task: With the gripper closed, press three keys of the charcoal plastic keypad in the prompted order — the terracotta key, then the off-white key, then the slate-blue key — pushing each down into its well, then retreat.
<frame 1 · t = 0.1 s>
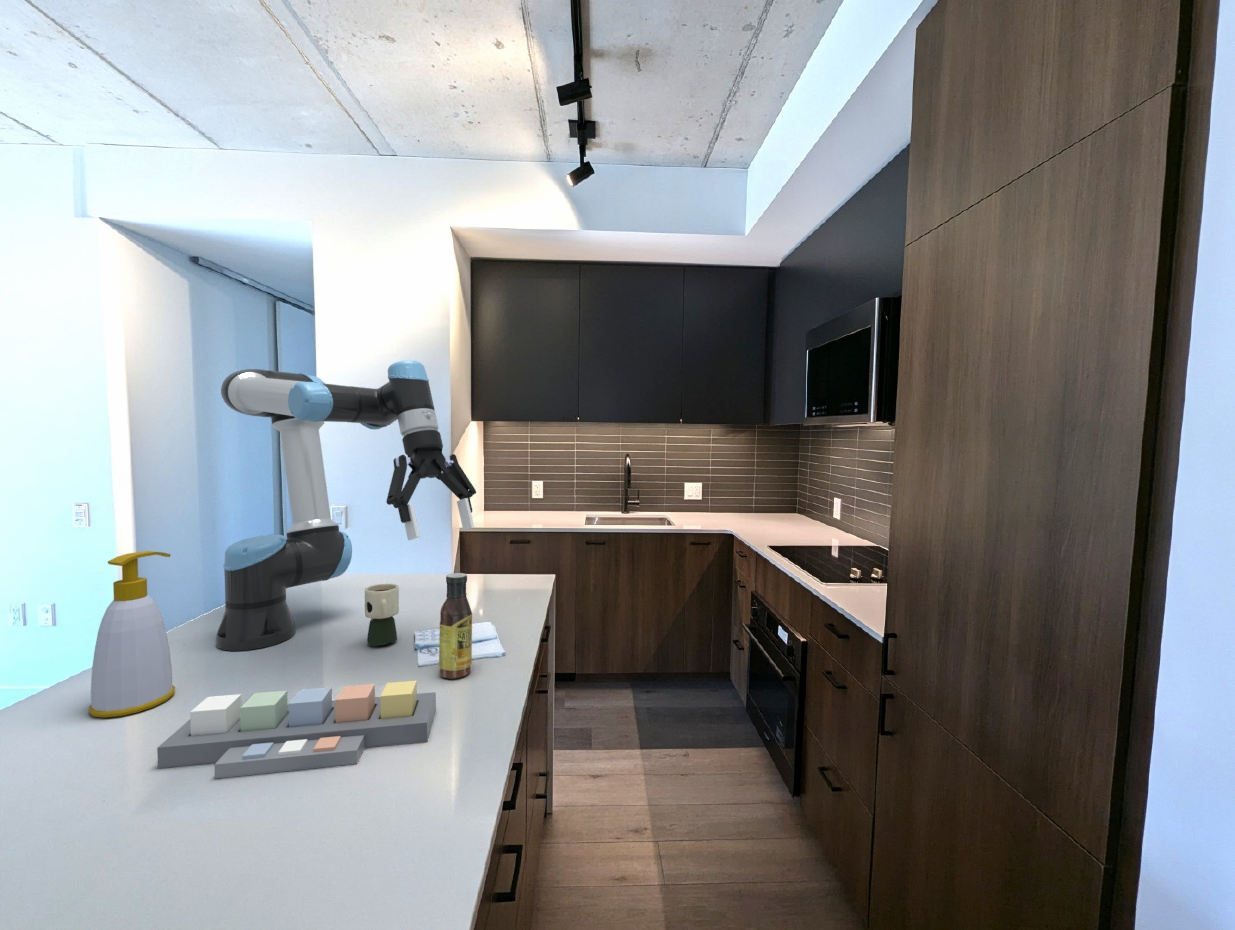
hand: (443, 533, 105), 28 cm above the countertop, tool tilted 20°, fingers open, 13 cm apart
character mug: (382, 644, 120), on the countertop
soap bottle: (134, 703, 92), on the countertop
key white: (216, 715, 79), point 4 cm above the countertop, slide at 0.0 cm
key sage: (264, 711, 80), point 5 cm above the countertop, slide at 0.0 cm
key mustard: (399, 700, 84), point 4 cm above the countertop, slide at 0.0 cm
keypad: (311, 735, 82), on the countertop
key terracotta: (355, 703, 83), point 4 cm above the countertop, slide at 0.0 cm
folded patterned cloth: (457, 648, 119), on the countertop
key slate: (311, 707, 82), point 4 cm above the countertop, slide at 0.0 cm
sauce bottle: (455, 674, 105), on the countertop
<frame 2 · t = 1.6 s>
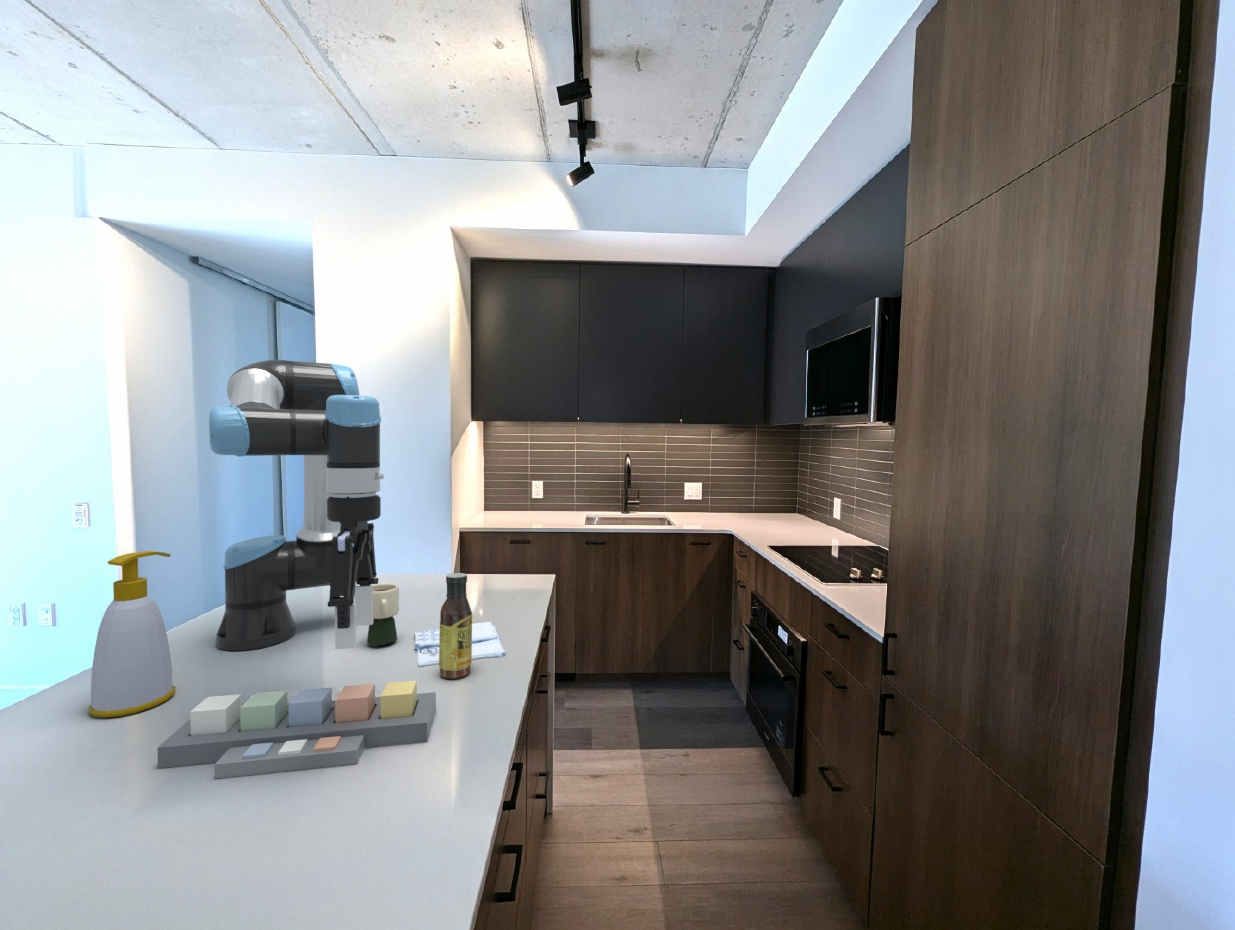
hand: (355, 635, 83), 16 cm above the countertop, tool pointing down, fingers open, 9 cm apart
nothing on the countertop moved.
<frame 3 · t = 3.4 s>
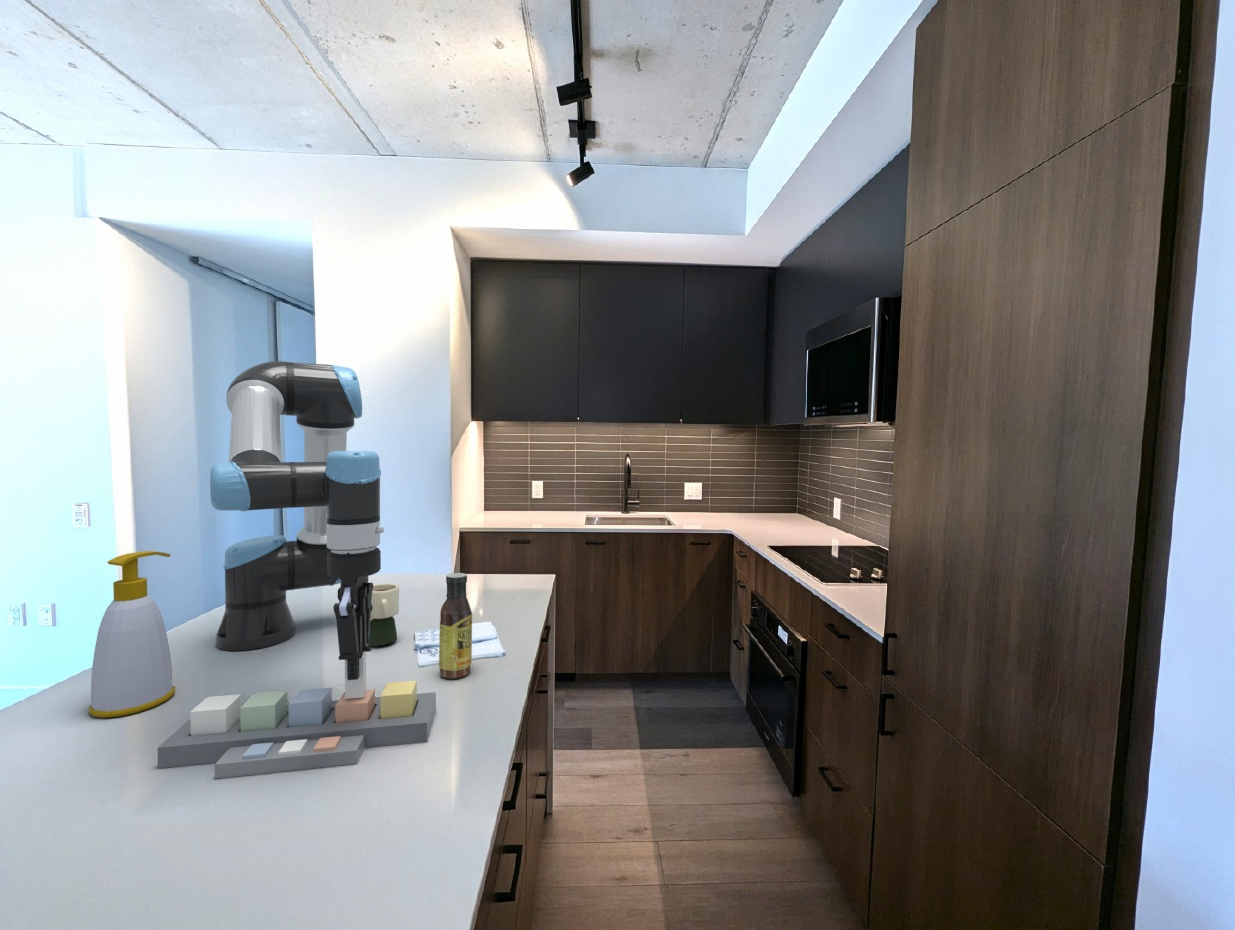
hand: (355, 695, 83), 6 cm above the countertop, tool pointing down, fingers closed
key terracotta: (355, 709, 83), point 4 cm above the countertop, slide at 0.9 cm, touching gripper
everything else where it was.
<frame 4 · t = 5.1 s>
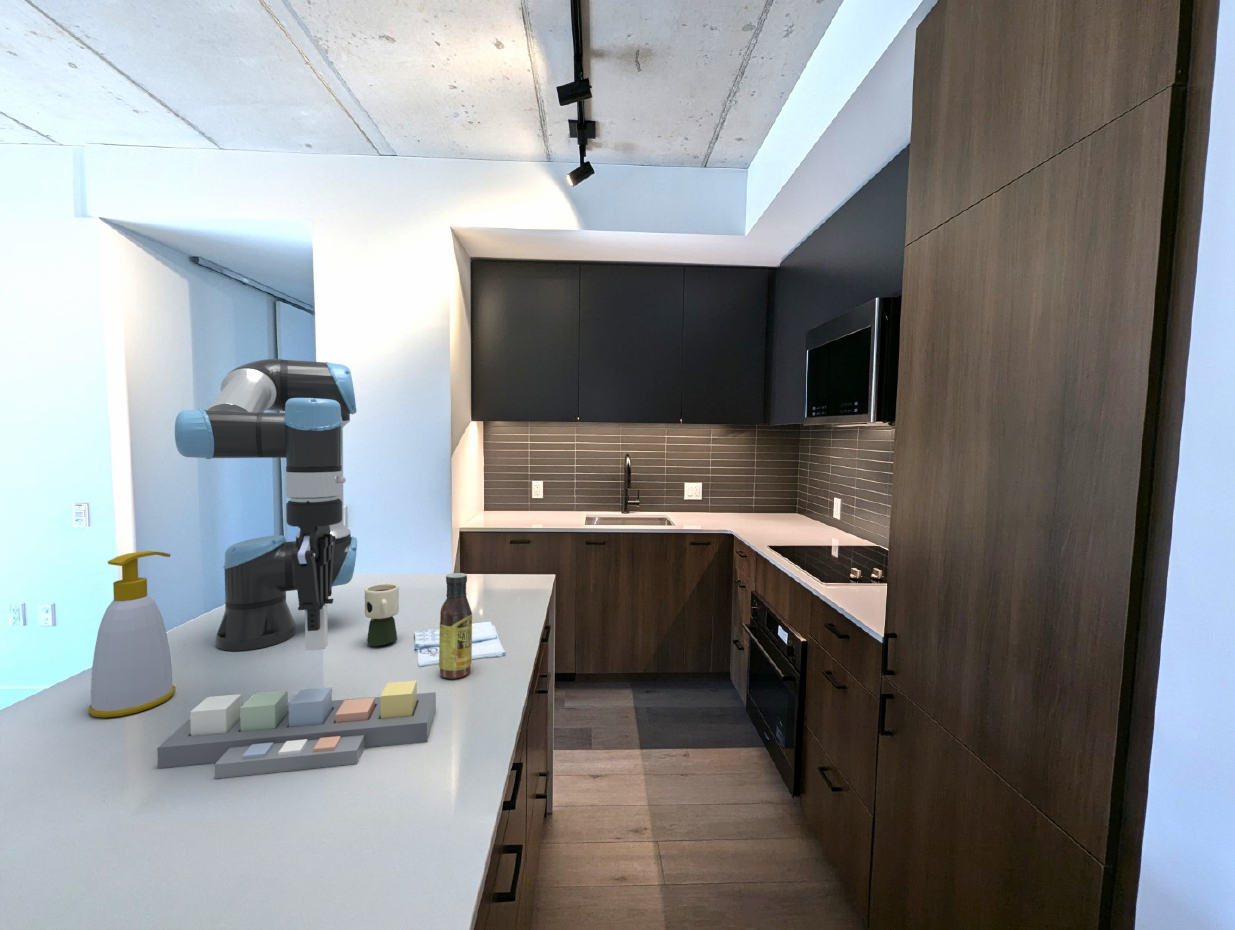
hand: (316, 647, 82), 14 cm above the countertop, tool pointing down, fingers closed
key terracotta: (355, 718, 83), point 2 cm above the countertop, slide at 2.3 cm
everything else where it was.
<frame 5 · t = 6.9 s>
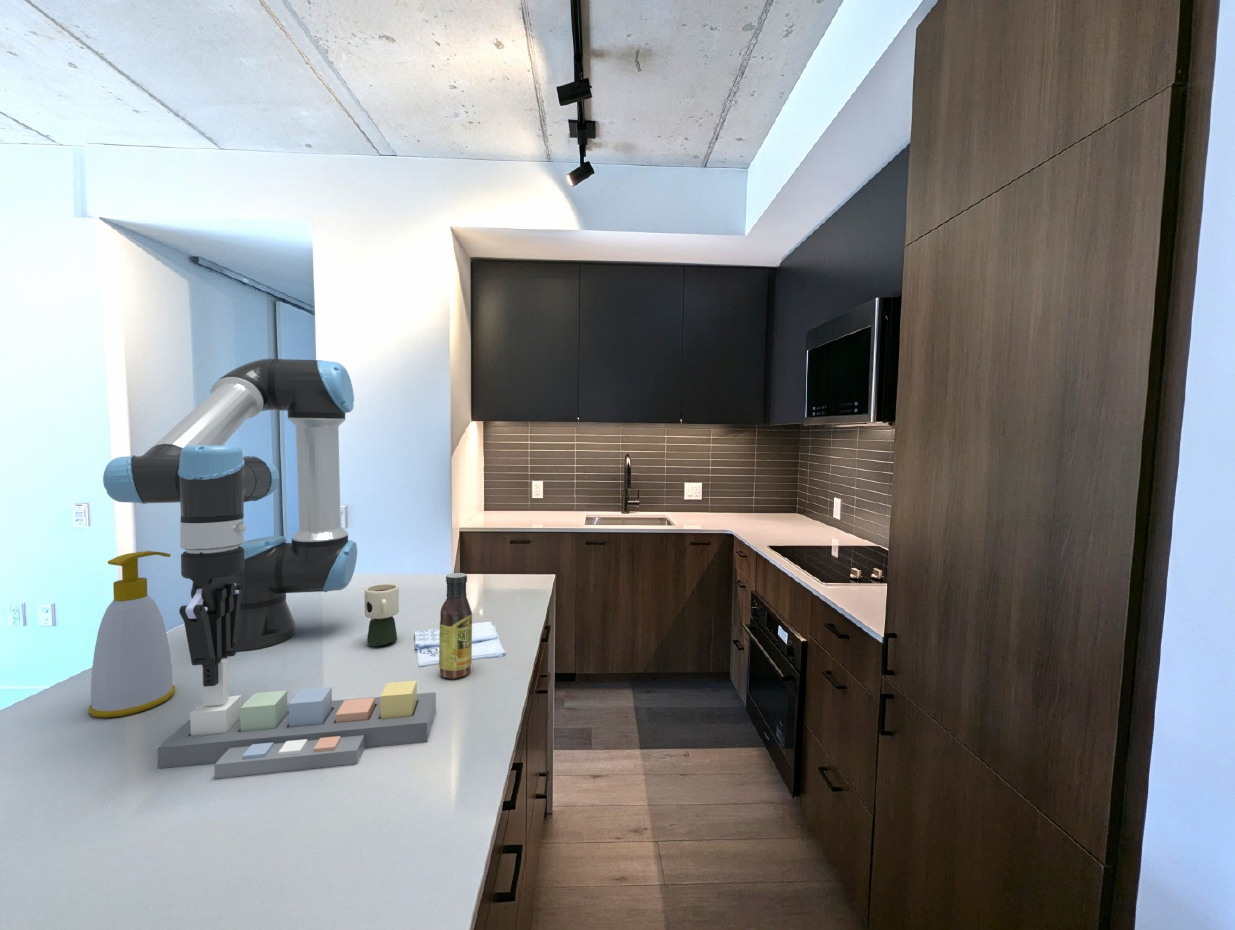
hand: (215, 702, 79), 7 cm above the countertop, tool pointing down, fingers closed
key white: (217, 716, 79), point 4 cm above the countertop, slide at 0.2 cm, touching gripper
everything else where it was.
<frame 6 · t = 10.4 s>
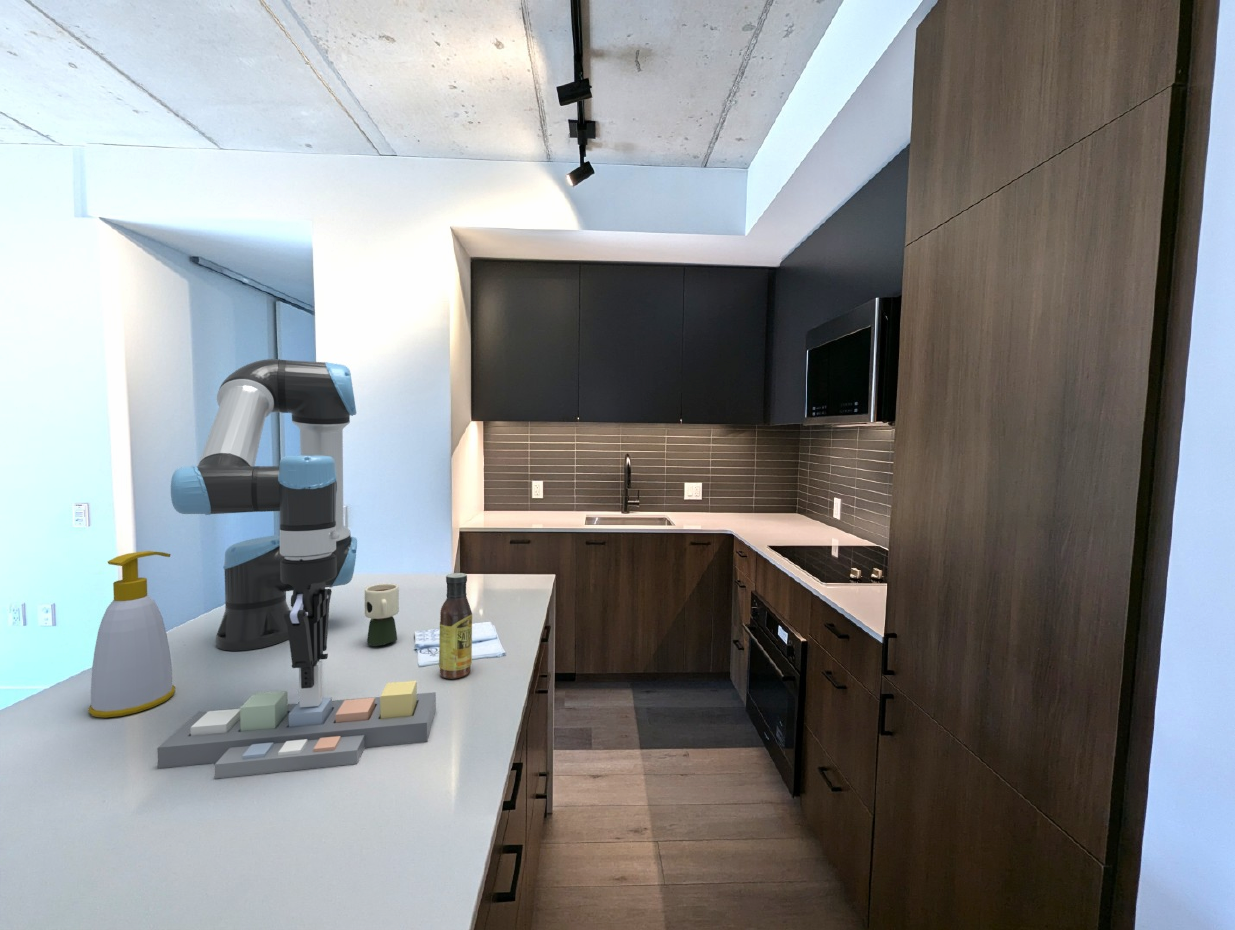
hand: (310, 704, 82), 5 cm above the countertop, tool pointing down, fingers closed
key white: (217, 730, 79), point 2 cm above the countertop, slide at 2.3 cm
key slate: (311, 717, 82), point 3 cm above the countertop, slide at 1.6 cm, touching gripper
everything else where it was.
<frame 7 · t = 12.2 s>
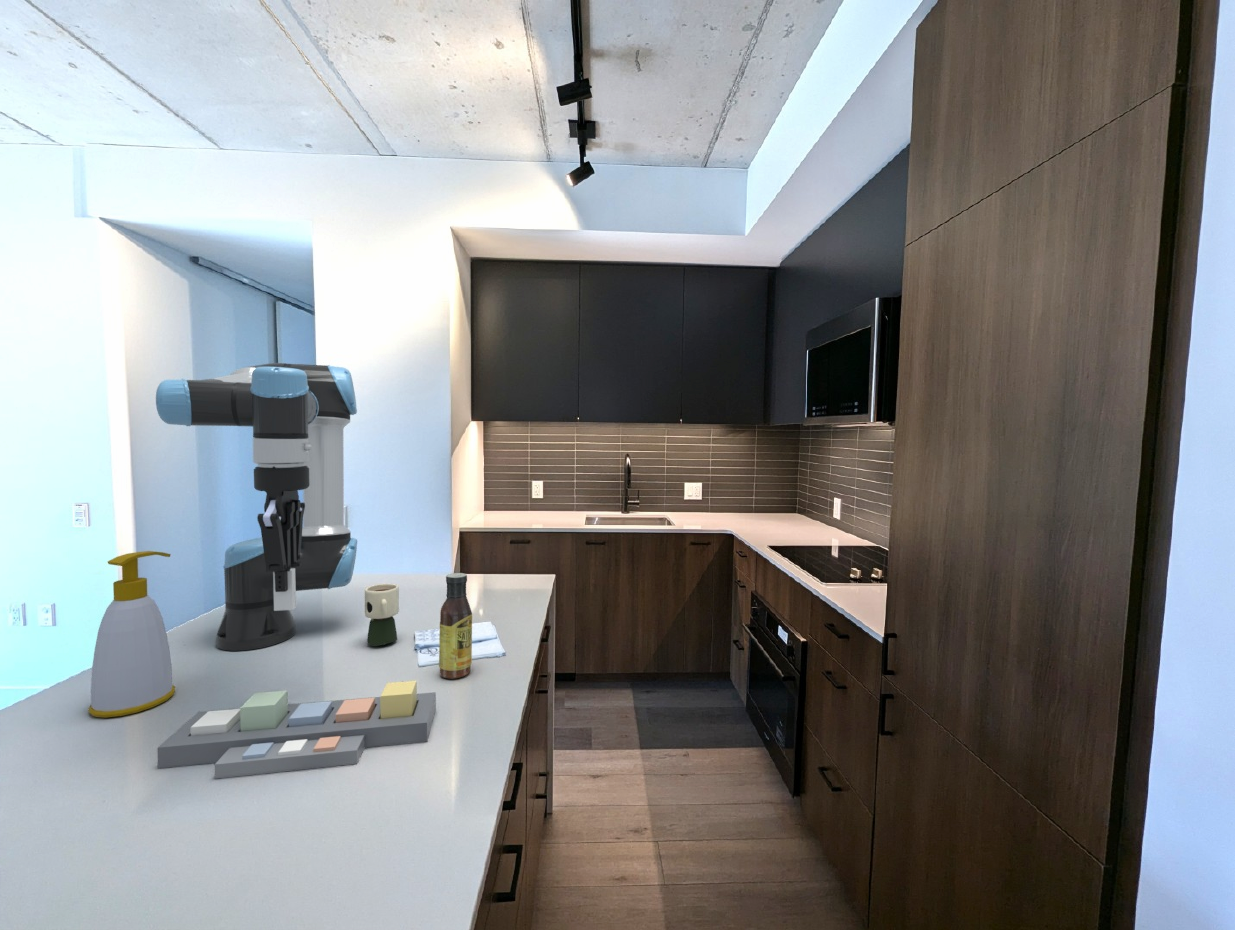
hand: (285, 608, 85), 19 cm above the countertop, tool pointing down, fingers closed
key slate: (311, 722, 82), point 2 cm above the countertop, slide at 2.3 cm
everything else where it was.
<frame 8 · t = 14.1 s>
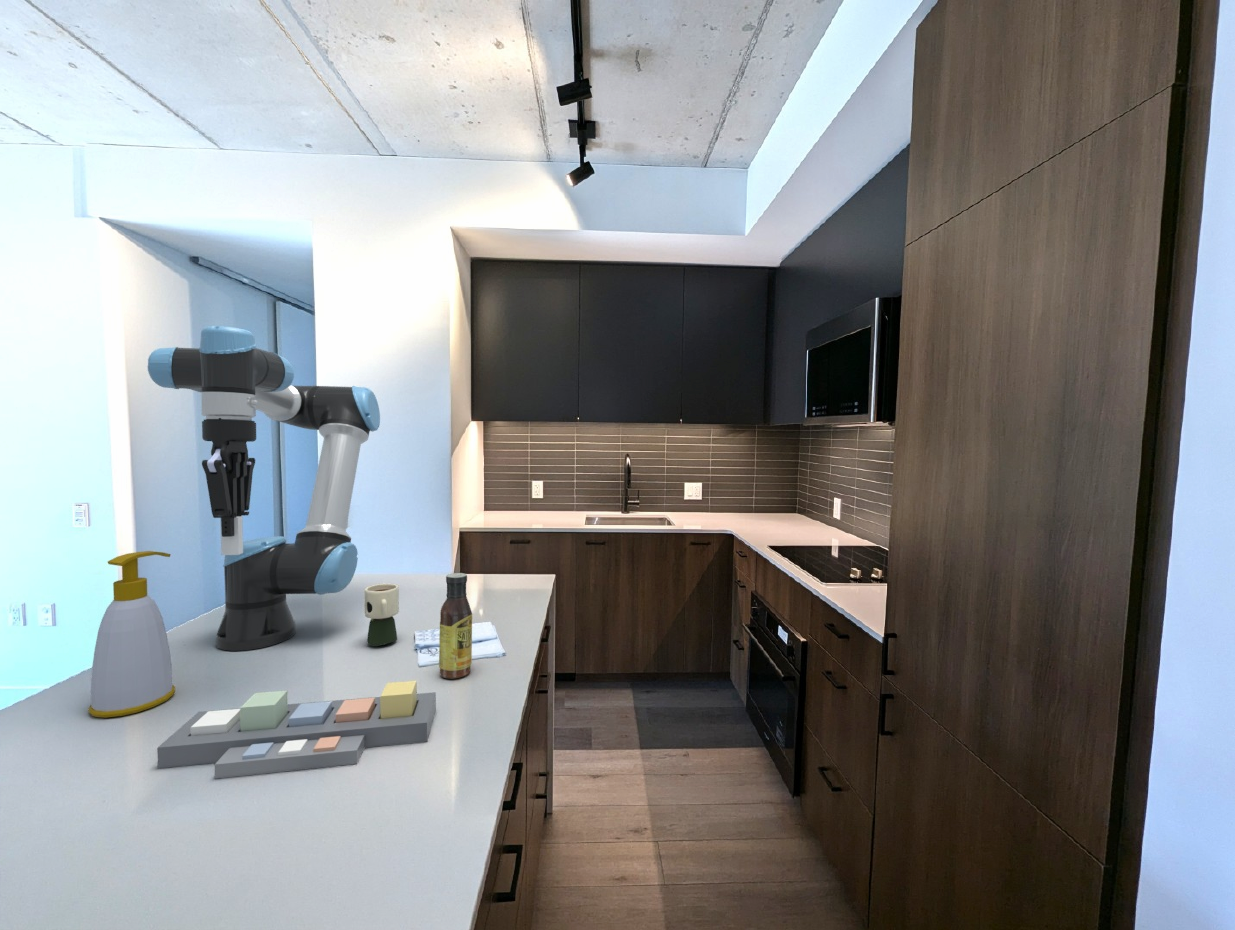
hand: (232, 553, 91), 26 cm above the countertop, tool pointing down, fingers closed
nothing on the countertop moved.
at the end: key terracotta slide at 2.3 cm; key white slide at 2.3 cm; key slate slide at 2.3 cm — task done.
